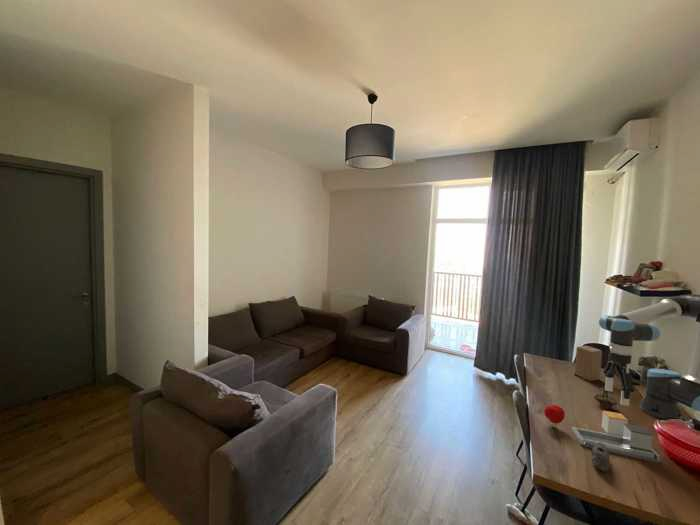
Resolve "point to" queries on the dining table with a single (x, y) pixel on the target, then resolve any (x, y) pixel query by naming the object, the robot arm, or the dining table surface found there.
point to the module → (613, 423)
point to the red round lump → (554, 414)
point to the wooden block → (588, 362)
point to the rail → (621, 441)
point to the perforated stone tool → (600, 457)
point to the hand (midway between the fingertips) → (616, 397)
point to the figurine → (605, 400)
